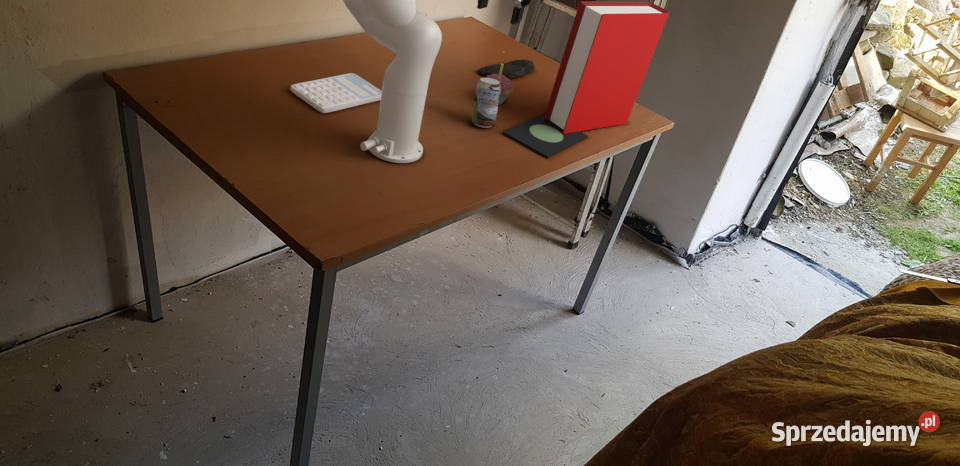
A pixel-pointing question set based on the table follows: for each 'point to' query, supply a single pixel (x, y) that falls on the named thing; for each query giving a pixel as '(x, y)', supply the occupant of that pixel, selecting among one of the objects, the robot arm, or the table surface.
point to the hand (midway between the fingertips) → (498, 15)
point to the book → (604, 63)
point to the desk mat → (543, 136)
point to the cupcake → (502, 84)
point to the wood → (509, 69)
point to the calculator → (337, 92)
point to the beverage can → (486, 102)
